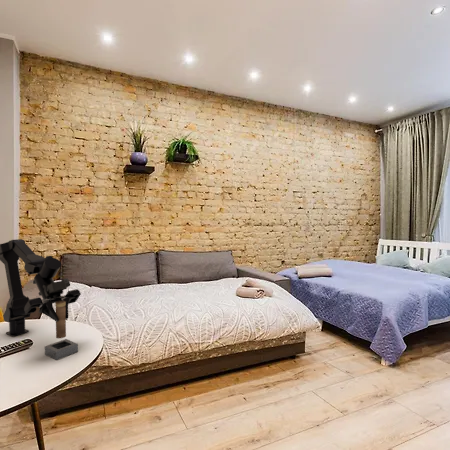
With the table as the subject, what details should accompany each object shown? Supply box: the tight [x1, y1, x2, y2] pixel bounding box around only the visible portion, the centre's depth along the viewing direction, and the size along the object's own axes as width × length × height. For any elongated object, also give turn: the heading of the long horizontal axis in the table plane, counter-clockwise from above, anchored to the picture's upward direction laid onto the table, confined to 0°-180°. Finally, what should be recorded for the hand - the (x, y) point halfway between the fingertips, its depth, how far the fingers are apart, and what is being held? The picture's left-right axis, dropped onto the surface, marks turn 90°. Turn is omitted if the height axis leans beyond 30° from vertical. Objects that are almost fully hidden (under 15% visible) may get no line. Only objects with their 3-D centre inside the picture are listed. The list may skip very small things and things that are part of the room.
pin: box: [54, 301, 67, 339], centre depth 115 cm, size 3×3×13 cm
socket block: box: [44, 338, 79, 361], centre depth 116 cm, size 8×8×3 cm
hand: (62, 319), depth 114 cm, fingers closed on pin, 3 cm apart
